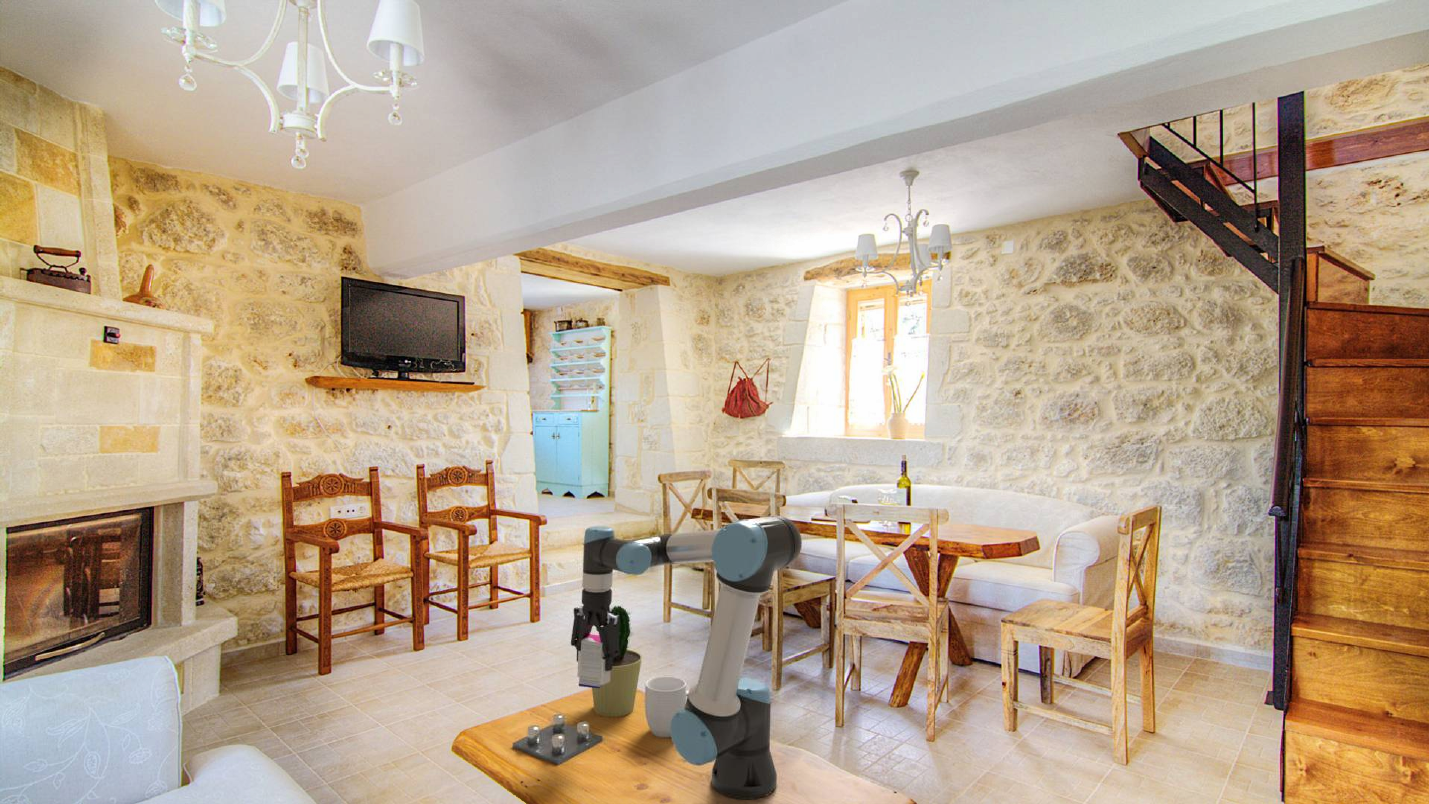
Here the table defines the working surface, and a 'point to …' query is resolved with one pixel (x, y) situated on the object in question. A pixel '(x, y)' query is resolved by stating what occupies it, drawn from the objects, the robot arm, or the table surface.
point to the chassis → (557, 740)
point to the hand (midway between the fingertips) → (593, 679)
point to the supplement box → (591, 662)
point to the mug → (663, 702)
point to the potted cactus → (619, 675)
